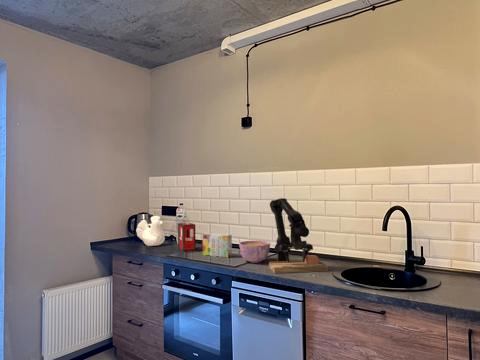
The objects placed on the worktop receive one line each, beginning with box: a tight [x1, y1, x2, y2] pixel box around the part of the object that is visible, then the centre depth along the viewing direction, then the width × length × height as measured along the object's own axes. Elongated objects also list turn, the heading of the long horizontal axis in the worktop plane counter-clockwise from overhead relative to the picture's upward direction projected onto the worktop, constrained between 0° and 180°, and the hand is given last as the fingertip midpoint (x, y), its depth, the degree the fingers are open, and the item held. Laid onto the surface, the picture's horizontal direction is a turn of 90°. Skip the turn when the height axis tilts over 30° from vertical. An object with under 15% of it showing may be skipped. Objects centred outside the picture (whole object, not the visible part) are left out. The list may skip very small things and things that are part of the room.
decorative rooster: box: [135, 215, 166, 247], centre depth 277 cm, size 25×16×25 cm, turn 61°
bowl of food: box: [238, 240, 271, 264], centre depth 210 cm, size 20×20×12 cm
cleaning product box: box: [177, 222, 197, 253], centre depth 252 cm, size 16×9×20 cm, turn 25°
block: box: [305, 254, 319, 265], centre depth 193 cm, size 6×6×4 cm
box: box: [268, 259, 329, 274], centre depth 189 cm, size 16×30×3 cm, turn 96°
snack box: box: [202, 232, 233, 259], centre depth 229 cm, size 21×6×15 cm, turn 59°
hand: (296, 262), depth 192 cm, fingers open, 9 cm apart
